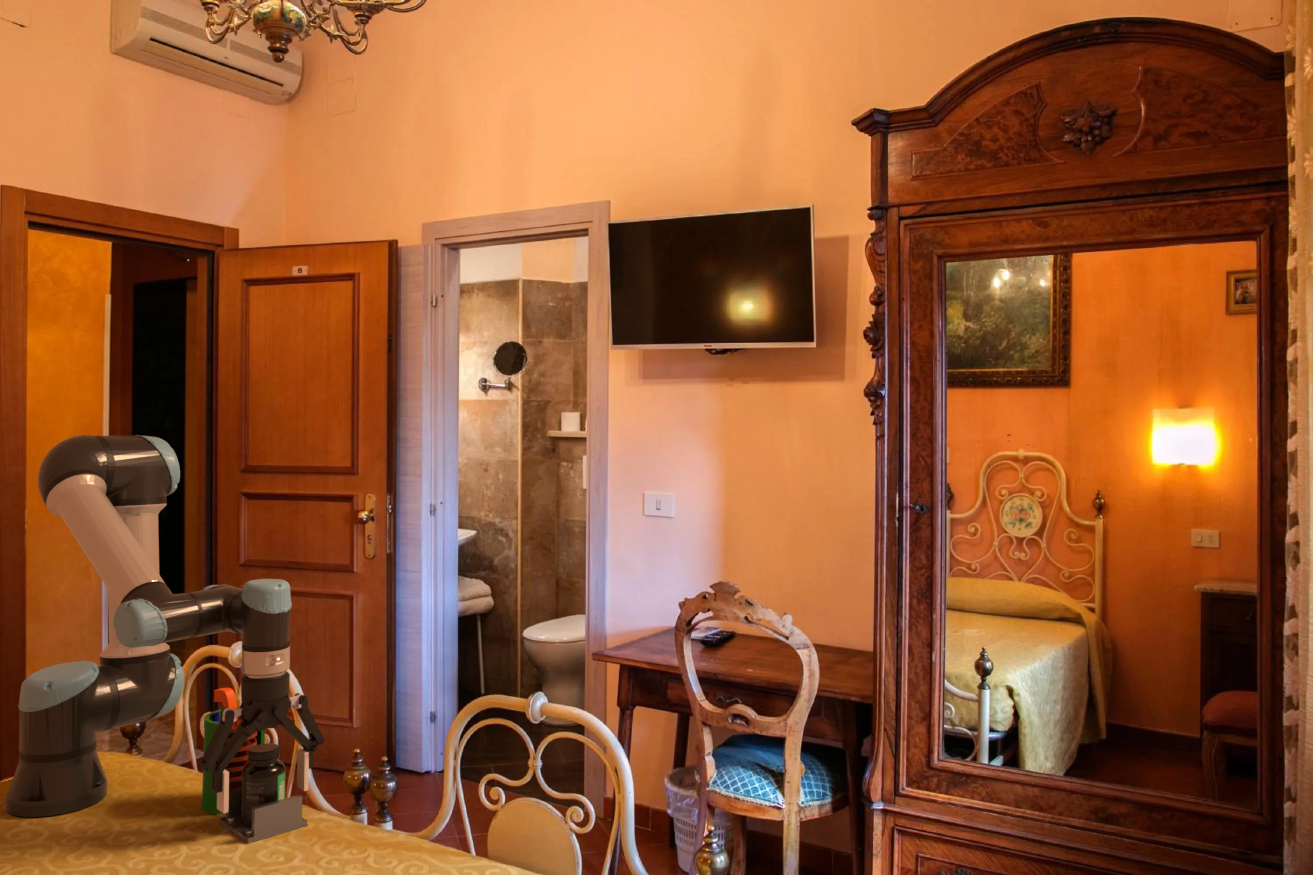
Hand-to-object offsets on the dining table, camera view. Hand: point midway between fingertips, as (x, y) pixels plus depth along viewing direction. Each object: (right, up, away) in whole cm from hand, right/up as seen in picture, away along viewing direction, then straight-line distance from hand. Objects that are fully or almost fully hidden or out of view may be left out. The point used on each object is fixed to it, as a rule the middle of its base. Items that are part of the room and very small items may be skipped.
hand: (263, 799), depth 159 cm
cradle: (0, -4, 0) cm, 4 cm away
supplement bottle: (0, -4, 0) cm, 4 cm away
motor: (-10, -4, +9) cm, 14 cm away
